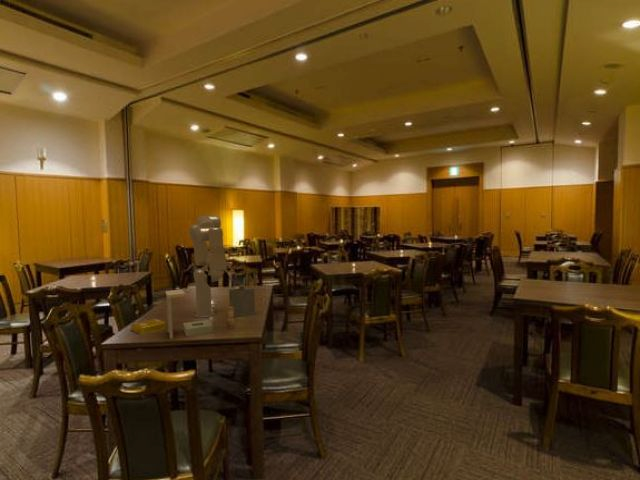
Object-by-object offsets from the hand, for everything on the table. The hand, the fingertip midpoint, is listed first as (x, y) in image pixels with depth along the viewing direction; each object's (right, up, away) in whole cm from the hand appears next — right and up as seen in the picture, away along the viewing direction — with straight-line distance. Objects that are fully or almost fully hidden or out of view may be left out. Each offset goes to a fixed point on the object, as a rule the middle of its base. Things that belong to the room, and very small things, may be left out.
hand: (217, 281), depth 211 cm
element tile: (-44, -30, +12) cm, 54 cm away
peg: (+5, -28, +10) cm, 30 cm away
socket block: (-17, -29, +4) cm, 34 cm away
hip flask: (+6, -27, +38) cm, 47 cm away
